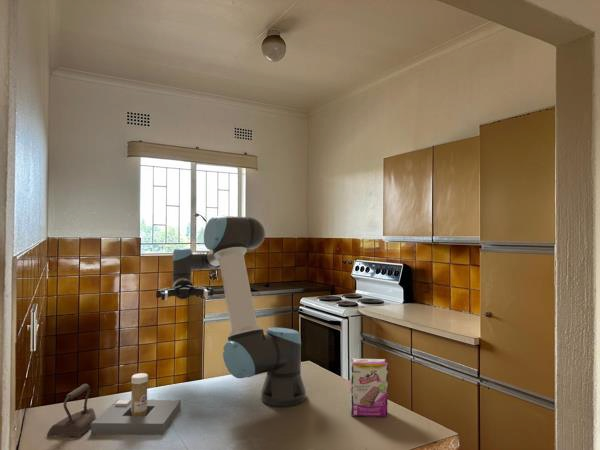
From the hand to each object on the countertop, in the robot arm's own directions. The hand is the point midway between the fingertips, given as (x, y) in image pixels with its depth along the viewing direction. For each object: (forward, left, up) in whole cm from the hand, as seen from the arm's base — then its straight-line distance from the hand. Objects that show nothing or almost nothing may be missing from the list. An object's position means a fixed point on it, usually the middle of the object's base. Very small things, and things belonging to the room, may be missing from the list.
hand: (186, 296), depth 140 cm
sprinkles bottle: (+8, +20, -34) cm, 40 cm away
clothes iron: (+25, +23, -34) cm, 48 cm away
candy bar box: (-61, +14, -34) cm, 71 cm away
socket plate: (+8, +20, -34) cm, 40 cm away
